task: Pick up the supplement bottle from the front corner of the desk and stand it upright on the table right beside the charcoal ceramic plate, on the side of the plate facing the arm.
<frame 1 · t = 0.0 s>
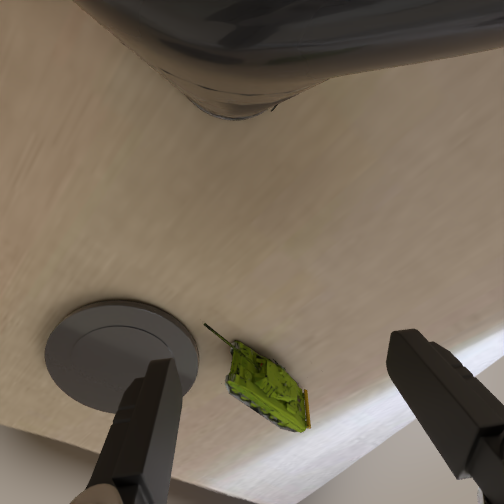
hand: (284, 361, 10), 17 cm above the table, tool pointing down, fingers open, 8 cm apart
plate: (128, 357, 31), on the table
toy tank: (259, 346, 32), on the table
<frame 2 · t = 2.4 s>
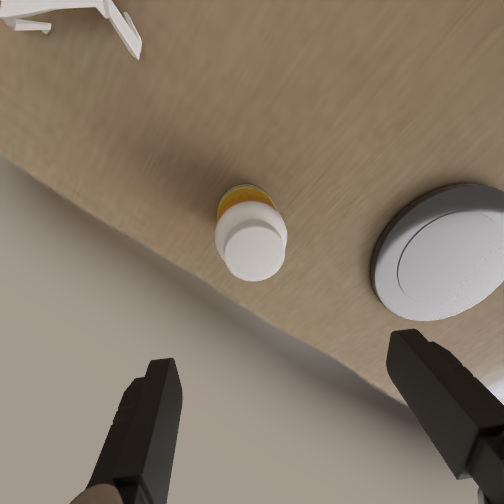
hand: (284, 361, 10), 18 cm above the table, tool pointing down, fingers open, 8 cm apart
supplement bottle: (245, 211, 26), on the table
plate: (440, 256, 30), on the table
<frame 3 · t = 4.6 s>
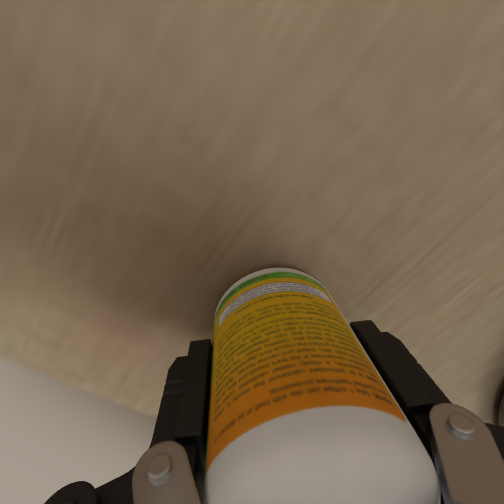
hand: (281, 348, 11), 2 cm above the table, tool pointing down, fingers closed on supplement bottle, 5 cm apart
supplement bottle: (272, 313, 13), on the table, touching gripper
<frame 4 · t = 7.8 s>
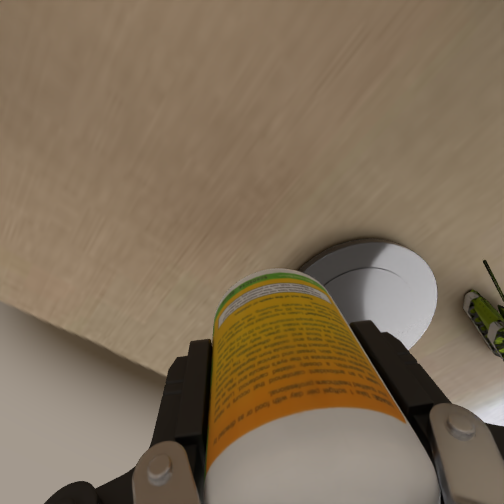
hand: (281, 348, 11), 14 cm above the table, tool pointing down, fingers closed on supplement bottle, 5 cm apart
supplement bottle: (272, 314, 13), point 12 cm above the table, touching gripper
plate: (353, 309, 28), on the table
toy tank: (488, 299, 29), on the table
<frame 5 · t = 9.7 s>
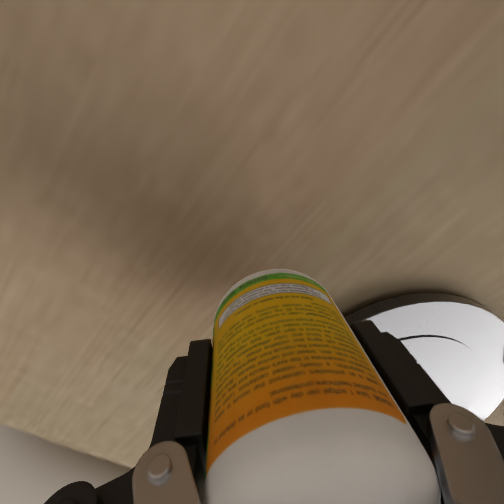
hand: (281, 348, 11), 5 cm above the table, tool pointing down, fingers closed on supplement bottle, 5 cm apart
supplement bottle: (272, 314, 13), point 3 cm above the table, touching gripper
plate: (391, 383, 20), on the table
when the fingers open (2 cm above the table, at t = 11.0 s): supplement bottle stays where it is, on the table.
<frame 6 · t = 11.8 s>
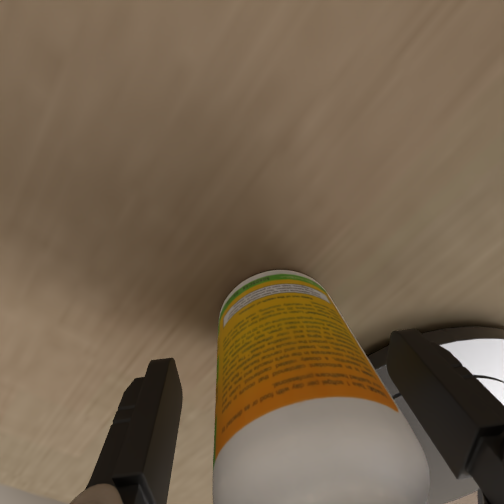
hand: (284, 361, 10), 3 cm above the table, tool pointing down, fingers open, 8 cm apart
supplement bottle: (274, 314, 13), on the table
plate: (419, 423, 17), on the table
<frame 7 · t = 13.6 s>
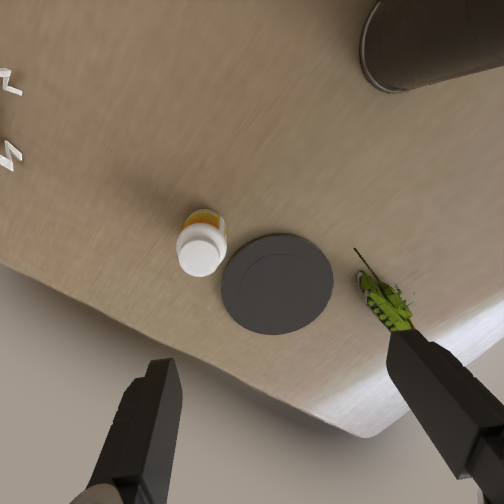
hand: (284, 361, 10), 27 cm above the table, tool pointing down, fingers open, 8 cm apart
supplement bottle: (205, 228, 36), on the table
plate: (276, 285, 40), on the table
toy tank: (376, 278, 41), on the table
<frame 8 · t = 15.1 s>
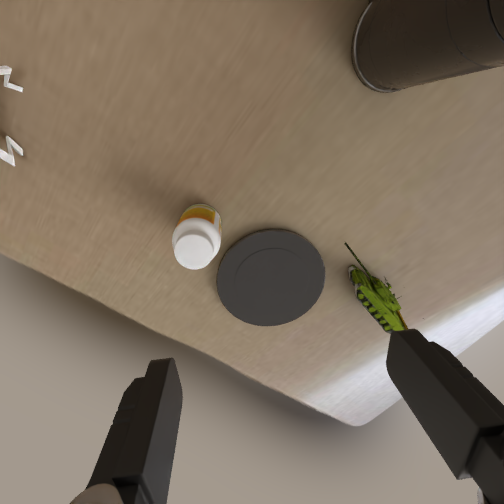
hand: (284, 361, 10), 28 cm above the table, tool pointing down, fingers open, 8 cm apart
supplement bottle: (201, 222, 37), on the table
plate: (270, 278, 41), on the table
toy tank: (367, 272, 42), on the table
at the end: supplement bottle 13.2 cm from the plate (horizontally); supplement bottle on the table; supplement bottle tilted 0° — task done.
